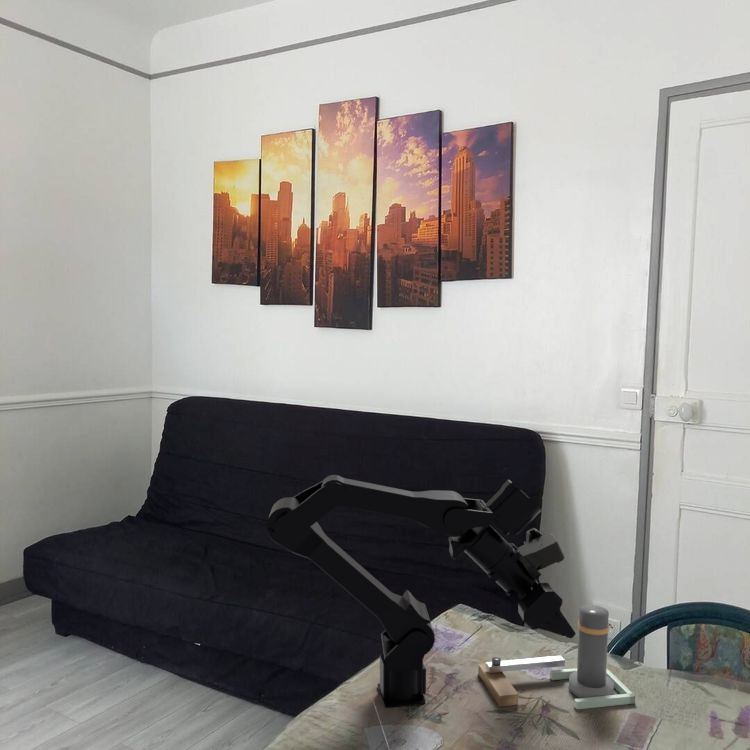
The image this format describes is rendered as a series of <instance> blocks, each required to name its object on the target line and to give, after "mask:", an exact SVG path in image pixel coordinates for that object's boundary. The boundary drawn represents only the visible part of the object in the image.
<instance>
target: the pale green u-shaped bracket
mask: <svg viewBox="0 0 750 750" xmlns="http://www.w3.org/2000/svg"><path fill="white" fill-rule="evenodd" d="M576 671H577V667H576V668H575V667H574V668H565V669H563V668H562V669H553V670H552V669H551V670H549V679H550V680H551V681H555V680H569V676H570V674H571V673H573V672H576ZM606 676H608V677H609V678H610V679H611V680H612V681H613V683H614V690H616V692H618V693H619V694H613V695H609V696H600V697H590V698H574V699H573V700H574V702H573V705H574V708H575V709H576V710H584V709H585V710H586V709H595V708H603V707H604V708H605V707H611V706H612V707H614V706H624V705H632V704H636V695H635V694H634V693H633V692H632V691H631V690H630V689H629V688H628V687H627V686H626V685H625V684H624V683H622V681H621V680H619V678H617V676H616V675H614V674H613V673H612V671H610V670H609V669H608V667H606Z"/></svg>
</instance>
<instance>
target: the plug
mask: <svg viewBox="0 0 750 750" xmlns="http://www.w3.org/2000/svg"><path fill="white" fill-rule="evenodd" d="M609 615H610V613H609V610H607V609H606V608H604V607H602V606H599V605H593V604H586V605H582V606H579V613H578V620H577V629H578V635H577V636H578V637H577V640H578V641H577V663H576V664H577V667H576V668H577V671H576V672H573V673H571V674H570V676H569V679H568V690H569V691H570V692H571V694H573V695H574V696H575V697H577V698H578V699H580V698H590V697H600V696H609V695H615V694H614V693H615V691H614V690H615V688H614V683H613V681H612V680H611V679H610V678H609V677H608V676H606V668H608V667H607V665H608V663H607V662H608V660H607V659H608V638H609V637H608V636H609V632H610V624H609V617H610V616H609Z"/></svg>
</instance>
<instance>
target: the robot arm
mask: <svg viewBox="0 0 750 750" xmlns="http://www.w3.org/2000/svg"><path fill="white" fill-rule="evenodd" d="M339 506H340V507H345V508H349V509H354V510H360V511H363V512H370V513H375V514H380V515H385V516H391V517H396V518H401V519H405V520H409V521H413V522H416V523H418V524H420V525H421V526H423V527H425V528H427V529H429V530H430V531H434V532H435V533H436V532H437V533H439V534H442V535H444V536H447V537H448V542H449V547H448V552H449V553H450V556H451V558H452V559H453V560H456V559H458V558H459V557H460V556H461V555H462V554H463V553H465V554H466V555H468V557H469V558H471V559H472V560H473V562H474V563H476V564H477V566H479V567H480V568H481V569H482V570H483V571H484V572H485V573H486V574H487V576H488V578H489V580H490V581H492V583H494V584H495V583H496V584H497V585H498V586H500V588H502V589H503V591H504V592H505V593H506V595H507V597H508V598H509V599H510V600H511V601H512V602H513V601H515V600H516V599H517V598H520V599H521V600H520V601H519V602H518V603H517V604H518V605H517V606H518V607H517V609H518V610H517V612H518V614H519V616H520V618H521V620H522V621H523V622H524V624H526V625H527V626H528V627H529V628H530V629H531V630H541V631H546V632H549V633H552V634H555V635H557V636H558V635H559V636H562V637H564V638H565V637H566V638H568V639H573V638H574V636H576V635H577V633H576V631H575V630H574V628H573V627H572V626H571V624H570V623H569V621H568V620H567V618H566V616H565V615H564V614H563V612H562V611H561V608H562V607H561V606H562V605H563V598H562V597H561V595H560V594H559V593H558V592H557V590H556V589H554V588H553V586H552V585H551V584H550V583H548V582H540V577H541V576H542V573H541V572H540V570H543V569H546V568H547V567H550V566H551V565H554V564H555V563H558V564H559V563H561V562H562V561H564V560H565V555H564V553H563V550H562V548H561V546H560V544H559V541H558V539H556V537H555V536H554V535H553V534H552V533H550V532H548V533H547V531H544V532H541V531H540V530H538V529H537V528H535V527H532V528H530V529H528V530H527V531H525V532H526V535H525V541H523V545H521V546H519V547H517V546H516V545H515V544H514V543H513V542H511V543H510V542H508V541H507V540H506V539H505V538H504V537H503V536H502V535H501V534H500V533H499V532H498V531H497V530H496V529H494V527H493V526H491V525H492V523H493V524H494V525H495V526H496V527H497V528H498V529H499V530H500V531H501V532H502V533H503V534H504V535H505V536H508V535H511V536H512V537H513V536H515V535H516V536H518V534H520V533H521V532H522V531H523V530H524V529H525V528H526V527H527V526H528V525H529V524H530V523H531V522H532V521H533V520H534V519H535V518H536V517H537V516H538V514H540V513H541V512H542V511H543V510H542V509H541V507H540V506H538V504H537V503H536V502H534V501H533V499H532V498H530V497H529V496H528V495H527V494H526V493H525V492H524V491H523V490H522V489H520V488H518V487H517V485H516V484H514V482H512V480H510V479H507V480H506V481H505V482H504V483H503V484H502V486H501V488H500V489H499V490H498V491H497V492H496V493H495V494H494V495H493V496H491V498H490V499H489V500H488V501H487V502H485V501H484V500H482V499H477V498H476V499H475V498H469V497H468V498H467V497H464V496H462V495H461V494H460V493H458V492H457V491H454V490H437V489H436V490H435V489H434V490H433V489H432V490H424V491H422V490H421V491H411V490H406V489H401V488H396V487H391V486H385V485H381V484H377V483H376V484H375V483H371V482H366V481H362V480H361V481H360V480H356V479H350V478H345V477H343V476H340V475H338V474H331V475H327V476H326V477H325V478H324V479H322V480H321V481H320V482H318V483H315V485H312V486H310V487H308V488H306V489H304V490H302V491H301V492H299V493H298V494H296V495H294V496H290V497H283V498H280V499H279V500H277V501H276V502H275V503H274V504H273V506H272V507H271V510H270V513H269V515H268V519H267V522H266V531H267V535H268V537H269V538H270V540H271V541H272V542H273V543H275V544H277V545H278V546H280V547H282V548H283V549H285V550H286V551H289V552H290V553H293V554H294V555H298V556H300V557H302V558H303V557H304V558H306V559H308V560H309V561H311V562H312V563H313V564H314V565H316V566H317V567H318V568H319V569H320V570H321V571H323V572H324V573H325V574H326V575H327V576H329V577H330V578H331V579H332V580H333V581H334V582H335V583H337V584H338V586H340V587H341V588H343V589H344V590H345V591H346V592H347V593H348V594H350V596H351V597H353V598H354V599H355V600H356V601H357V602H359V603H360V604H361V605H362V606H363V607H364V608H365V609H367V611H369V612H370V613H371V614H372V615H374V616H375V617H376V618H377V619H378V620H379V622H380V624H381V626H382V627H383V629H384V630H383V631H382V632H381V634H380V637H381V643H382V650H383V653H381V654H379V682H378V683H377V690H378V693H379V695H380V699H381V701H382V703H383V707H384V708H386V709H387V708H398V707H399V708H400V707H405V706H406V707H408V706H415V705H416V706H418V705H425V704H426V702H427V701H426V697H425V695H426V693H427V668H426V666H425V665H424V661H423V660H424V657H425V655H427V654H428V653H430V652H431V651H432V649H433V648H434V644H435V641H436V639H435V638H436V636H435V632H434V628H433V626H432V623H431V618H430V616H429V613H428V610H427V606H426V604H425V603H423V602H421V601H419V600H417V598H415V597H414V595H413V594H412V592H410V591H409V590H408V589H406V591H405V592H403V595H399V594H396V593H394V592H392V591H391V590H389V588H387V587H386V586H385V585H384V584H383V583H381V582H380V581H379V580H377V579H376V577H374V575H372V574H371V573H370V572H369V571H368V570H366V568H365V567H363V566H362V565H361V564H360V563H358V562H357V561H356V560H355V559H354V558H352V556H351V555H349V554H348V553H347V552H346V551H344V550H343V549H342V548H341V547H340V546H339V545H337V544H336V542H334V540H332V539H331V538H330V537H328V536H327V535H326V533H325V531H323V529H322V527H321V525H320V524H319V523H318V521H319V520H321V519H322V518H323V517H324V516H325V515H327V514H328V513H330V511H332V510H333V509H335V508H337V507H339ZM542 533H543V534H542Z"/></svg>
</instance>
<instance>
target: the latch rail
mask: <svg viewBox="0 0 750 750" xmlns="http://www.w3.org/2000/svg"><path fill="white" fill-rule="evenodd" d="M477 668H478V669H477V670H478V676H479V677H480V679H481V680H482V682H483V684H484V685H485V687H486V688H487V690H488V692H489V693H490V694H491V696H492V697H493V699H494V700H495V702H496V704H497V705H498V707H508V706H519V693H518V692H517V690H516V689H515V688H514V685H512V683H511V681H510V680H509V679H508V678H507V676H506V675H505V674H504V672H494V673H489V672H488V671H487V669H486V663H479V664H478V666H477Z"/></svg>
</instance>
